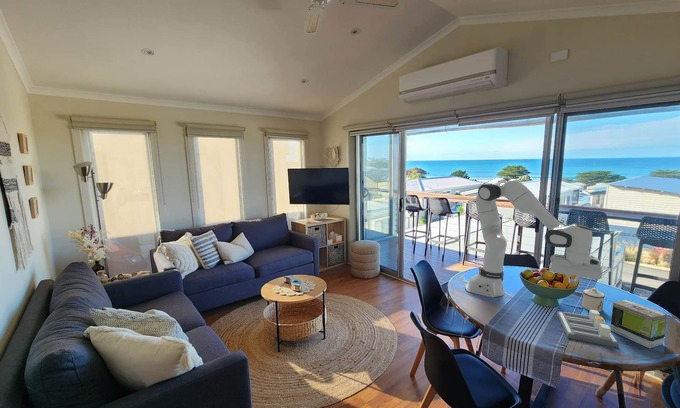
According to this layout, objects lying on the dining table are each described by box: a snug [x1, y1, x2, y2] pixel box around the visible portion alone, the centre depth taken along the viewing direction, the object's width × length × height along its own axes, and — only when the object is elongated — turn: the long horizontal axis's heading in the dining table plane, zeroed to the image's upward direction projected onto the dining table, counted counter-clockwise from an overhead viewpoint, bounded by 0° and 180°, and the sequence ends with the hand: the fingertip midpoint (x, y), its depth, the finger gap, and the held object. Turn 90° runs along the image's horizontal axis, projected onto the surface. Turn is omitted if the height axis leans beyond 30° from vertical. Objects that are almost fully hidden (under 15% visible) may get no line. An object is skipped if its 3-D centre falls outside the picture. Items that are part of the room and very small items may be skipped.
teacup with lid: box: [581, 287, 606, 313], centre depth 161 cm, size 12×9×12 cm
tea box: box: [609, 299, 668, 349], centre depth 134 cm, size 15×10×15 cm
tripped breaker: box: [593, 316, 606, 328], centre depth 139 cm, size 3×4×5 cm
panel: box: [556, 309, 619, 348], centre depth 141 cm, size 18×22×7 cm
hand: (572, 283), depth 145 cm, fingers closed
